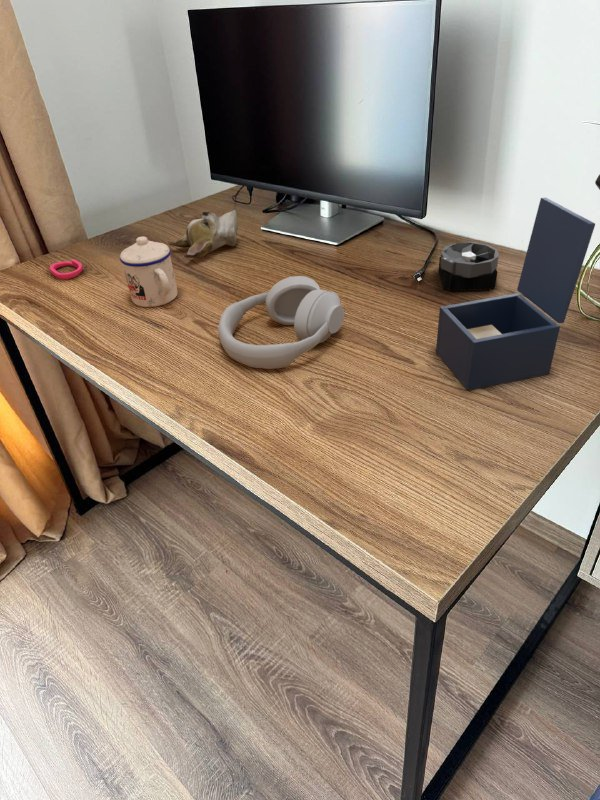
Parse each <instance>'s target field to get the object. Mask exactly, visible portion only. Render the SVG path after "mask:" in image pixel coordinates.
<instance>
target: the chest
mask: <svg viewBox="0 0 600 800" xmlns="http://www.w3.org/2000/svg"><path fill="white" fill-rule="evenodd" d="M487 325H493V326H494V327H495V328H496V329H497V330H498V331H499V332H500V333H501V334H500V335H495V336H490V337H485V338H479V339H476V338H475V337H474V336H473V335H472V334H471V333H470V332H469V331H468V330H467V329H471V328H477V327H482V326H487ZM560 329H561V325H559V323H558V322H556V321H555V320H554V319H553V318H551V317H550V316H549V315H548V314H546V313H545V312H544V311H543V310H541V309H540V308H539V307H538V306H536V305H535V304H534V303H533V302H531V301H530V300H529V299H528V298H526V297H525V296H524V295H523V294H521V293H520V292H515V293H511V294H510V293H509V294H504V295H500V296H494V297H487V298H483V299H477V300H472V301H466V302H460V303H454V304H448V305H443V306H440V307H439V312H438V324H437V336H436V345H435V346H436V347H435V353H436V354H437V355H438V357H439V358H440V359H441V360H442V362H443V363H444V364H445V365H446V366H447V368H448V369H449V371H451V372H452V374H453V375H454V376H455V377H456V379H457V380H458V381H459V383H460V384H461V385H462V386H463V387H464V388H465V390H466V391H471V390H478V389H483V388H488V387H492V386H497V385H501V384H502V385H503V384H507V383H511V382H517V381H521V380H527V379H532V378H536V377H541V376H547V375H550V373H551V368H552V363H553V359H554V355H555V350H556V347H557V341H558V338H559V334H560Z"/></svg>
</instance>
